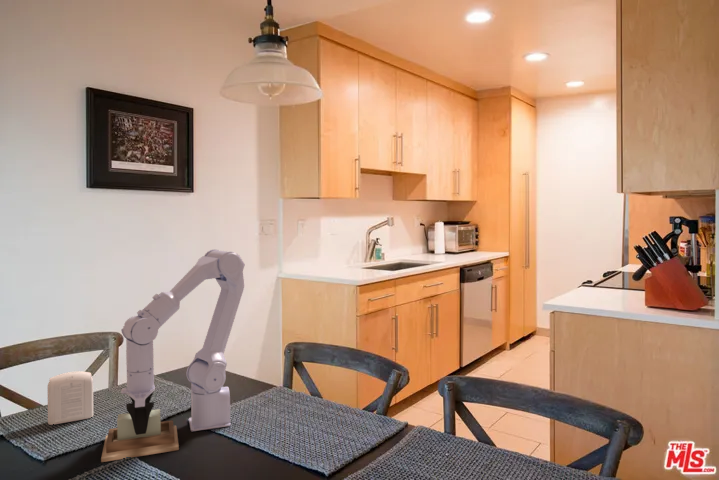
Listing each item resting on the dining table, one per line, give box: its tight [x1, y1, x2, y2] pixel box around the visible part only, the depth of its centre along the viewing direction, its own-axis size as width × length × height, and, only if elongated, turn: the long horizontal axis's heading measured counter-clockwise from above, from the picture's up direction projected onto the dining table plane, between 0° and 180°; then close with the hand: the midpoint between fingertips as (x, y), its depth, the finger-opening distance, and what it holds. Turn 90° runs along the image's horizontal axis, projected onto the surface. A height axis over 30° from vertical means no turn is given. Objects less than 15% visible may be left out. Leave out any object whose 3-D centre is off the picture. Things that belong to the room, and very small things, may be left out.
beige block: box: [116, 408, 162, 441], centre depth 118 cm, size 4×9×6 cm, turn 112°
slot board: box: [100, 419, 180, 463], centre depth 118 cm, size 16×12×3 cm
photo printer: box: [47, 370, 94, 426], centre depth 131 cm, size 10×4×12 cm, turn 123°
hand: (141, 426), depth 118 cm, fingers open, 7 cm apart
